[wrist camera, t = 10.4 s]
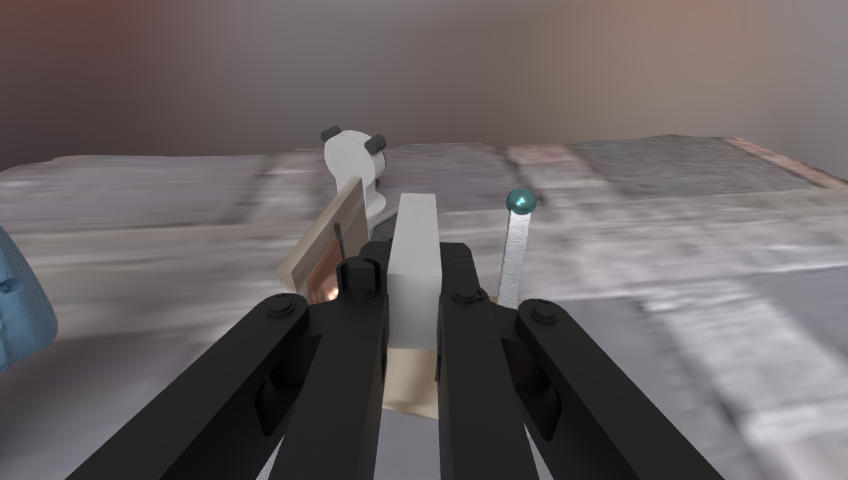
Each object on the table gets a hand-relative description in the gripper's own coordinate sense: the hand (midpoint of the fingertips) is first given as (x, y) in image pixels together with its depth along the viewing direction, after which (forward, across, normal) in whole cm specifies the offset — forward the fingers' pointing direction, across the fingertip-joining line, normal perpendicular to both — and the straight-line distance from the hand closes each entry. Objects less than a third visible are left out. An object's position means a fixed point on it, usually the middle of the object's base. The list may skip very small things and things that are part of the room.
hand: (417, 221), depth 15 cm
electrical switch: (+35, -4, -22) cm, 42 cm away
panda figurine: (+51, -12, -20) cm, 56 cm away
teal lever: (+15, +10, -22) cm, 28 cm away
